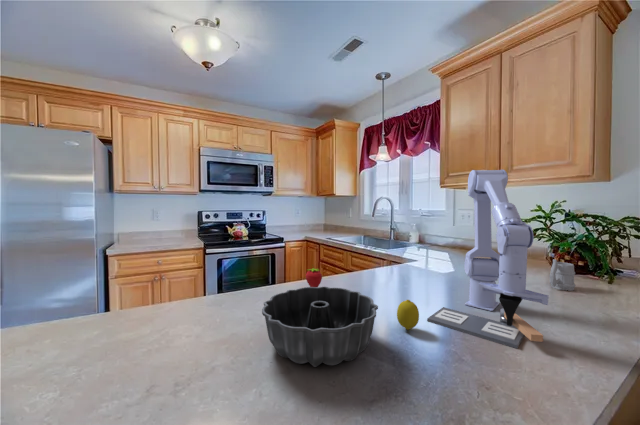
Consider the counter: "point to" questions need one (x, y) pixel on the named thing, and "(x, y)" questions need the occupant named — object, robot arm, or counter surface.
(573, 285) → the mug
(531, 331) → the bar
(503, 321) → the shiny grey curved piece
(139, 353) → the counter surface
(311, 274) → the strawberry
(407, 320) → the lemon
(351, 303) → the bundt pan
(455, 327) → the panel
